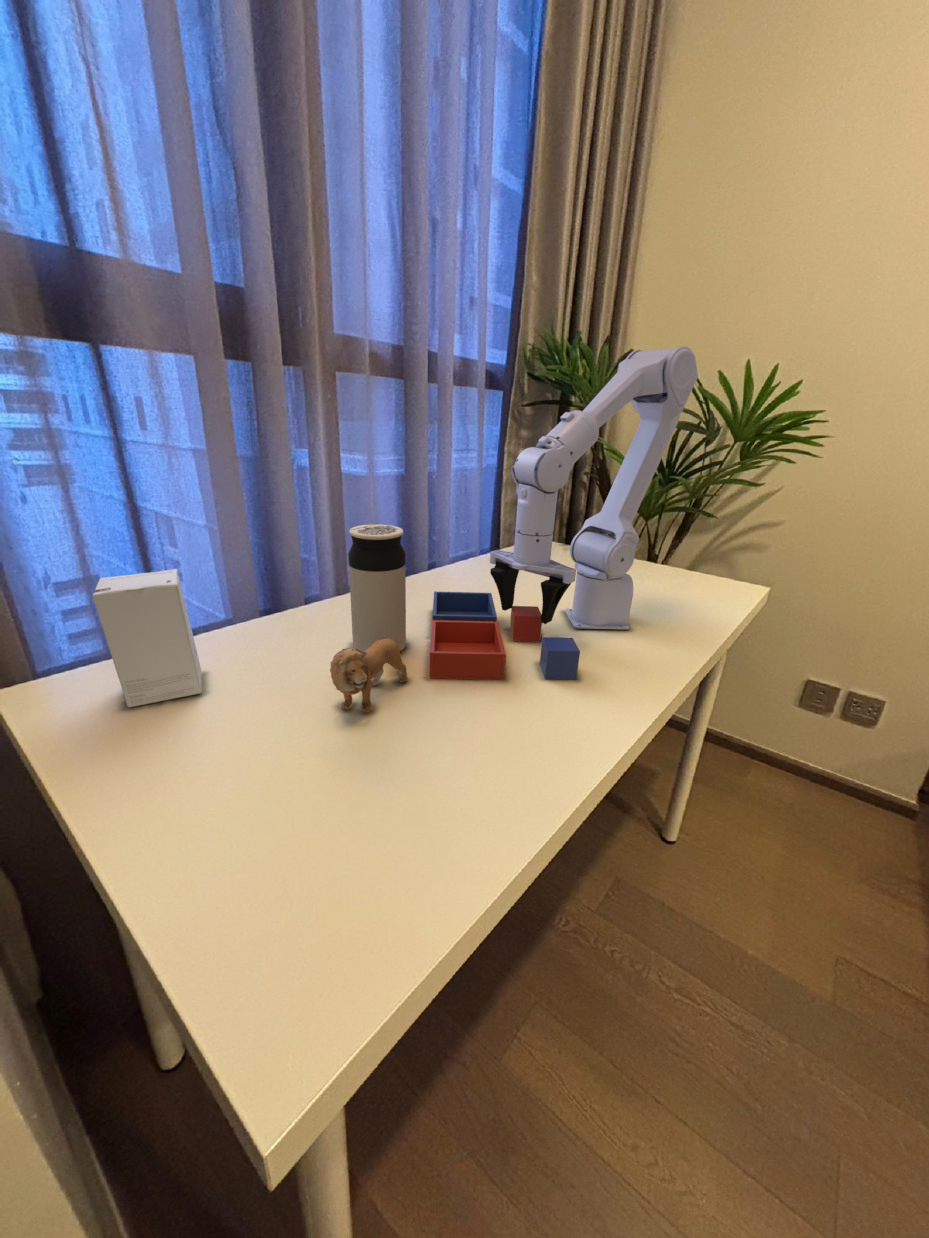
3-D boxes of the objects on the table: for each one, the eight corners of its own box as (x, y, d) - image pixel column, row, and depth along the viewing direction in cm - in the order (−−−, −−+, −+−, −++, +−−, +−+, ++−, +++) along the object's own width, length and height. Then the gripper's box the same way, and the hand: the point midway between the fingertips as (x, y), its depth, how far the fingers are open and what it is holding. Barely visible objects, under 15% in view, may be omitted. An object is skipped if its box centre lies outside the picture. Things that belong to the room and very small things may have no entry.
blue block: (569, 664, 74) (572, 637, 72) (576, 679, 70) (580, 651, 68) (539, 664, 74) (542, 636, 72) (544, 679, 70) (548, 650, 68)
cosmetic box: (202, 674, 67) (182, 567, 61) (202, 696, 62) (180, 582, 56) (128, 686, 64) (99, 574, 58) (122, 710, 59) (90, 591, 53)
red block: (535, 630, 85) (538, 606, 83) (540, 641, 81) (542, 616, 79) (509, 630, 85) (511, 605, 83) (512, 641, 81) (514, 615, 79)
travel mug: (416, 647, 77) (417, 531, 70) (375, 663, 72) (370, 539, 65) (383, 631, 82) (381, 521, 75) (342, 645, 77) (335, 528, 70)
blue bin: (490, 612, 91) (491, 592, 90) (495, 639, 81) (497, 616, 79) (433, 611, 91) (434, 591, 89) (432, 638, 81) (432, 615, 79)
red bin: (496, 644, 79) (498, 621, 78) (504, 679, 69) (506, 654, 67) (431, 642, 79) (432, 619, 77) (429, 678, 69) (429, 652, 67)
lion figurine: (363, 733, 57) (360, 662, 53) (322, 723, 58) (316, 653, 55) (414, 673, 70) (414, 613, 66) (379, 666, 71) (377, 607, 67)
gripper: (480, 527, 77) (475, 609, 83) (563, 545, 69) (552, 635, 74) (506, 521, 82) (501, 598, 88) (587, 537, 74) (575, 622, 79)
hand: (526, 615), depth 81 cm, fingers open, 7 cm apart
